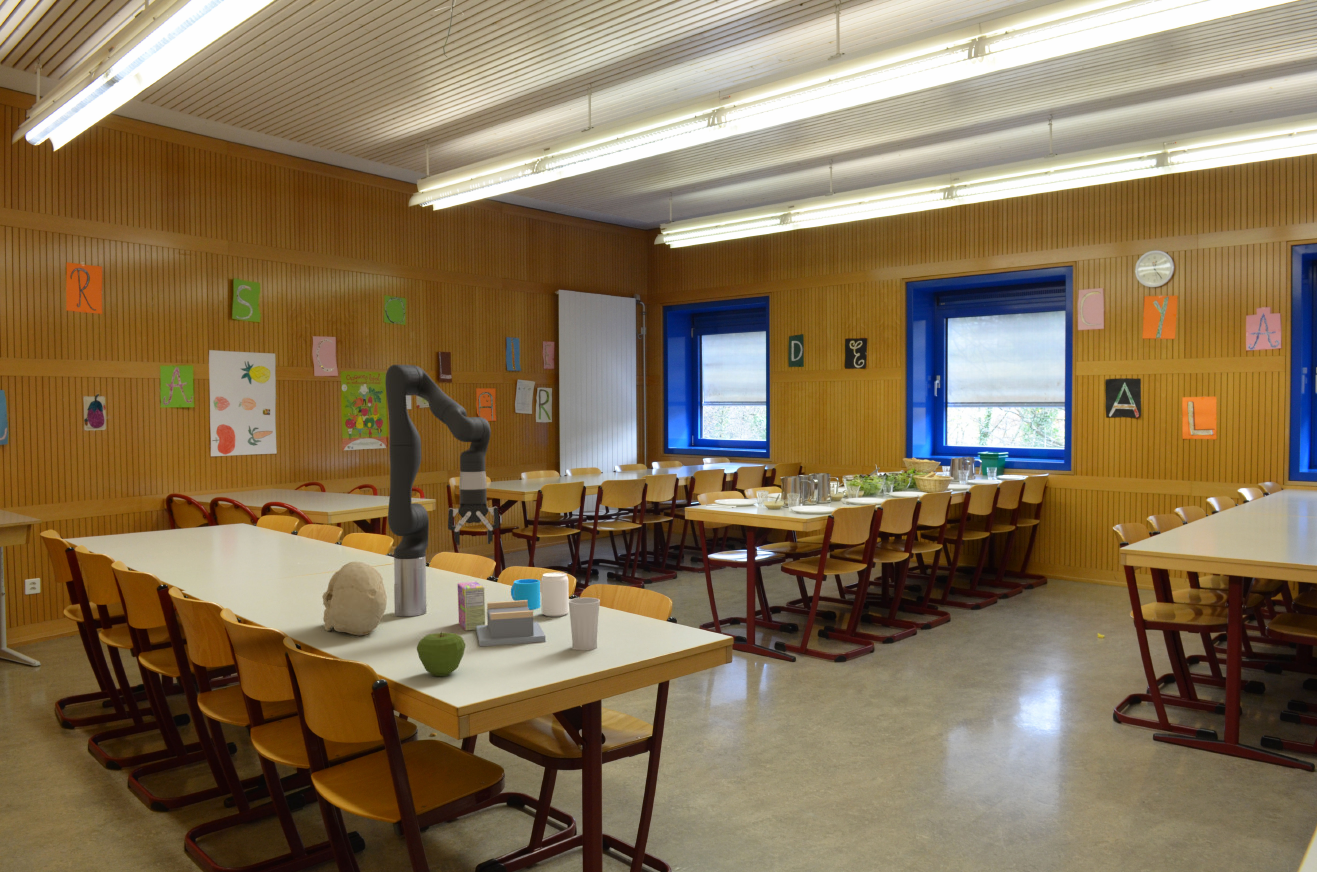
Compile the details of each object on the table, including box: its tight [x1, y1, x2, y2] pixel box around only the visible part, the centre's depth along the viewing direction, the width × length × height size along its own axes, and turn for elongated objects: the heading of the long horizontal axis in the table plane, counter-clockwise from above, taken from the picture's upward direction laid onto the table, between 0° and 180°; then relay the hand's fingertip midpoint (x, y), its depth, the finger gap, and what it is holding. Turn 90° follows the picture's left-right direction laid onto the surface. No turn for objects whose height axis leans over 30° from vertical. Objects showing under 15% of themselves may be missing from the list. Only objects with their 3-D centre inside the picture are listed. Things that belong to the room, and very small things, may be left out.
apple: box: [416, 631, 466, 677], centre depth 204 cm, size 11×10×10 cm
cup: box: [569, 597, 601, 651], centre depth 227 cm, size 8×8×12 cm
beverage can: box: [540, 571, 570, 617], centre depth 265 cm, size 8×8×12 cm
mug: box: [510, 578, 541, 611], centre depth 276 cm, size 12×8×8 cm
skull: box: [322, 561, 388, 636], centre depth 247 cm, size 15×26×20 cm, turn 44°
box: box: [457, 581, 486, 632], centre depth 251 cm, size 10×6×12 cm, turn 23°
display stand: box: [475, 600, 547, 647], centre depth 239 cm, size 17×17×8 cm
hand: (473, 544), depth 252 cm, fingers open, 8 cm apart
